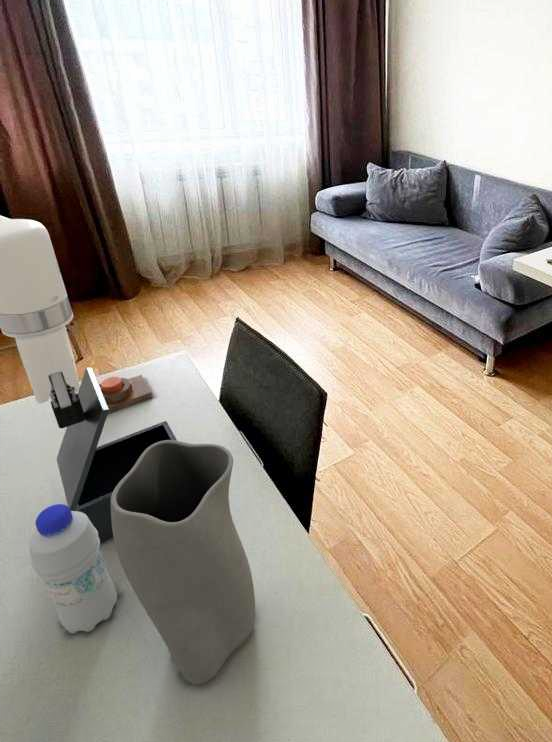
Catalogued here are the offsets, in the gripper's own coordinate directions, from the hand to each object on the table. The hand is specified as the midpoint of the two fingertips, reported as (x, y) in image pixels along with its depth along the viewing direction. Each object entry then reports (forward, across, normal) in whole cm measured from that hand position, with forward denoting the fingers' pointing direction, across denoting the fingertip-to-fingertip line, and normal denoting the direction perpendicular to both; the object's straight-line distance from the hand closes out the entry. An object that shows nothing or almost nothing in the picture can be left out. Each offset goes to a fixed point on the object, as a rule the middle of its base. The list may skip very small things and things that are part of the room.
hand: (72, 421), depth 73 cm
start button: (+16, -30, +7) cm, 35 cm away
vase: (+20, +31, +7) cm, 37 cm away
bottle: (+20, +17, -4) cm, 27 cm away
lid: (+3, 0, +1) cm, 3 cm away
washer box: (+20, 0, +5) cm, 20 cm away
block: (+20, -30, +8) cm, 37 cm away
